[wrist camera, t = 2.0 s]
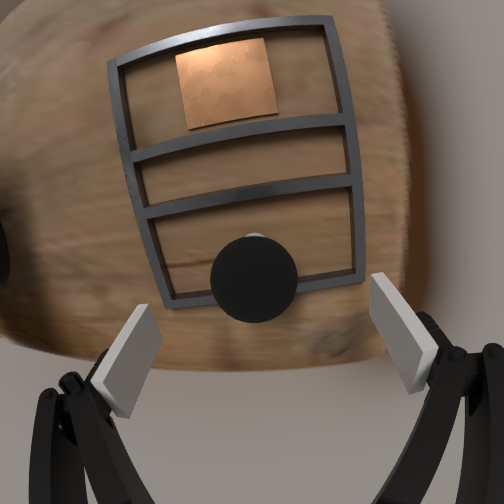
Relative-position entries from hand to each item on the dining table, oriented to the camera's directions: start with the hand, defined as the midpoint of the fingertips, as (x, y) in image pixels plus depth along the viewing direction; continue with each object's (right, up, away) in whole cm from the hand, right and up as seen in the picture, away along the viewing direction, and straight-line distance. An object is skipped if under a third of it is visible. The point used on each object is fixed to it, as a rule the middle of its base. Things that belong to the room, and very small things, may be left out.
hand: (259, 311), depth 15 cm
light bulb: (0, +4, +10) cm, 11 cm away
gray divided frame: (-1, +11, +7) cm, 13 cm away
